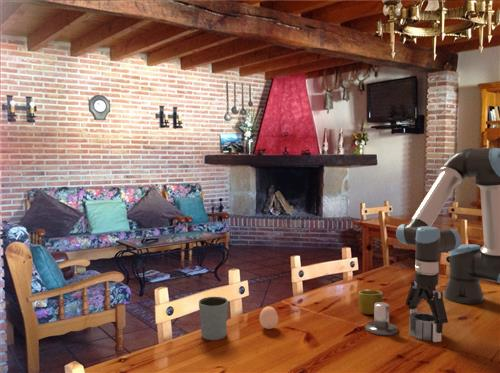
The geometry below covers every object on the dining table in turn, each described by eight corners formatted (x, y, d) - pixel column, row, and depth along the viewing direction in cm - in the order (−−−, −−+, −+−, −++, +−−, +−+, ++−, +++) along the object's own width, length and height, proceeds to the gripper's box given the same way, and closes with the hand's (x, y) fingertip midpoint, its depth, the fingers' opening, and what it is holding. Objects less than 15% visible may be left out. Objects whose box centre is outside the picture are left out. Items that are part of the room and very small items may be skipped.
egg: (257, 330, 159) (256, 308, 158) (262, 323, 165) (262, 302, 164) (275, 333, 156) (275, 311, 156) (280, 326, 163) (280, 304, 162)
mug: (388, 313, 169) (380, 287, 171) (362, 320, 172) (354, 294, 173) (387, 309, 181) (379, 284, 183) (362, 315, 183) (355, 290, 185)
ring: (428, 327, 161) (428, 311, 160) (447, 338, 151) (447, 321, 151) (403, 330, 158) (404, 313, 158) (421, 342, 149) (422, 324, 148)
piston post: (386, 322, 166) (386, 298, 165) (404, 333, 155) (404, 308, 155) (359, 325, 163) (360, 301, 162) (375, 337, 152) (376, 311, 152)
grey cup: (205, 343, 149) (205, 307, 148) (194, 332, 158) (194, 298, 157) (233, 337, 153) (233, 302, 152) (221, 327, 162) (220, 294, 161)
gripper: (396, 264, 164) (394, 322, 165) (441, 283, 140) (439, 350, 142) (414, 263, 166) (412, 320, 167) (461, 281, 142) (459, 347, 144)
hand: (424, 334), depth 155 cm, fingers open, 12 cm apart
